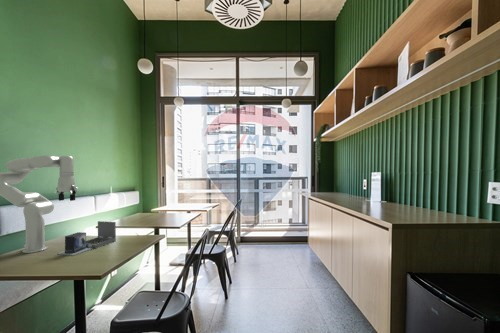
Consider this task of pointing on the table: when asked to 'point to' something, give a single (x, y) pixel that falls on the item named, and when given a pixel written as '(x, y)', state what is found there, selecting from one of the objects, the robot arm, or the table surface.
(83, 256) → the table surface
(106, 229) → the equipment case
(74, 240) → the small box
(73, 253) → the rubber mat
